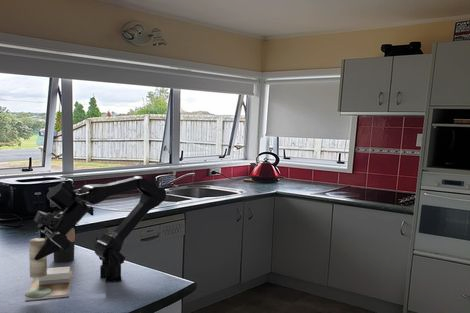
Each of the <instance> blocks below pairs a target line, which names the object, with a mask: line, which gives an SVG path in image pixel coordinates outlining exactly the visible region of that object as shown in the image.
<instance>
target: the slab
mask: <svg viewBox="0 0 470 313" xmlns="http://www.w3.org/2000/svg"><path fill="white" fill-rule="evenodd" d="M70 270H71V266H59V267H47V275H46V276H44V277H40V278H39V286H41V285H52V284H64V283H69V280H70Z"/></svg>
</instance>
